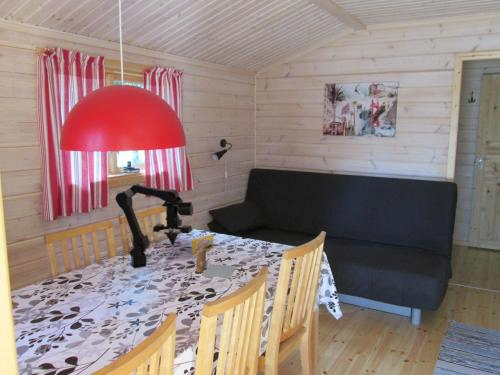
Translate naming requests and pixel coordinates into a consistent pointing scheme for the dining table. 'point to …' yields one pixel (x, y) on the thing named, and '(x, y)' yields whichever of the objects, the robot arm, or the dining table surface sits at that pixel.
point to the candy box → (202, 243)
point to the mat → (219, 270)
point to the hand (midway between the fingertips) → (173, 245)
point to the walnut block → (201, 260)
